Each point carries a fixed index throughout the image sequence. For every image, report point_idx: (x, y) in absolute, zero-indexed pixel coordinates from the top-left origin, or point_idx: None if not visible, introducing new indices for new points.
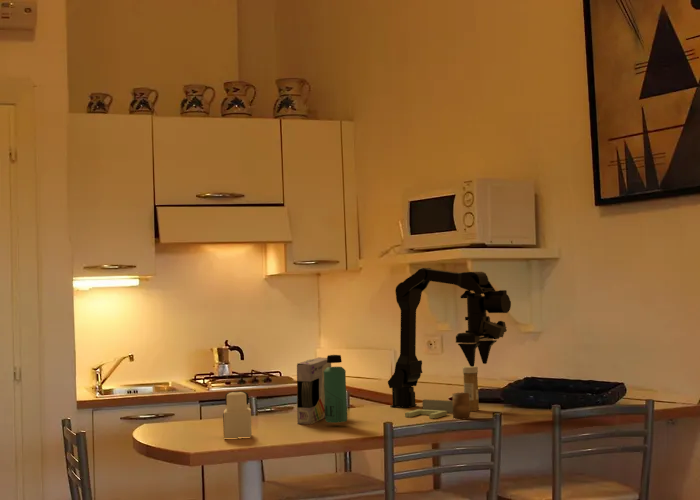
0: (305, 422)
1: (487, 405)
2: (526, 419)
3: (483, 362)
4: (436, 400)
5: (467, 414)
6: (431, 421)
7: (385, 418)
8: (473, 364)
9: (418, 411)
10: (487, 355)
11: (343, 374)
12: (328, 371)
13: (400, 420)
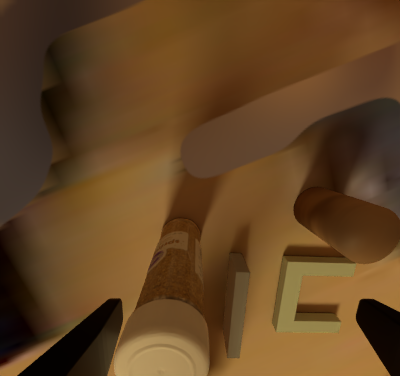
0: None
1: (71, 235)
2: (309, 13)
3: (120, 325)
4: (243, 323)
5: (331, 190)
6: None
7: (354, 348)
8: (391, 308)
9: (298, 319)
10: (69, 366)
11: None
12: None
13: None
